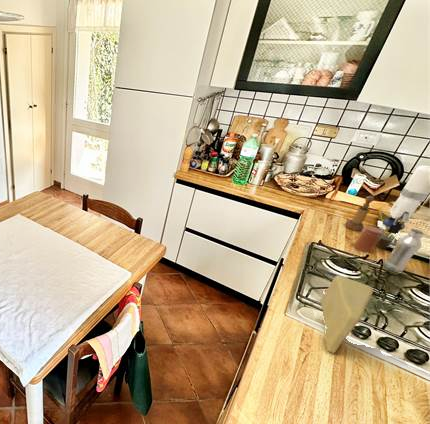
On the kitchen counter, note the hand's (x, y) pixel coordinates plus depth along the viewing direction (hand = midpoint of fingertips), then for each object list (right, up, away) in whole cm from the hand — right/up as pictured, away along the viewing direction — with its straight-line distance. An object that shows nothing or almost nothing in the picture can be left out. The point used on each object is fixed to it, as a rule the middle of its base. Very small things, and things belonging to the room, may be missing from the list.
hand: (390, 229), depth 140 cm
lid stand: (0, -8, +4) cm, 9 cm away
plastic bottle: (-15, -17, -12) cm, 26 cm away
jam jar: (-10, -9, +2) cm, 14 cm away
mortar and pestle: (+1, 0, +19) cm, 19 cm away
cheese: (-63, -32, -39) cm, 81 cm away
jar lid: (0, +3, -1) cm, 3 cm away
